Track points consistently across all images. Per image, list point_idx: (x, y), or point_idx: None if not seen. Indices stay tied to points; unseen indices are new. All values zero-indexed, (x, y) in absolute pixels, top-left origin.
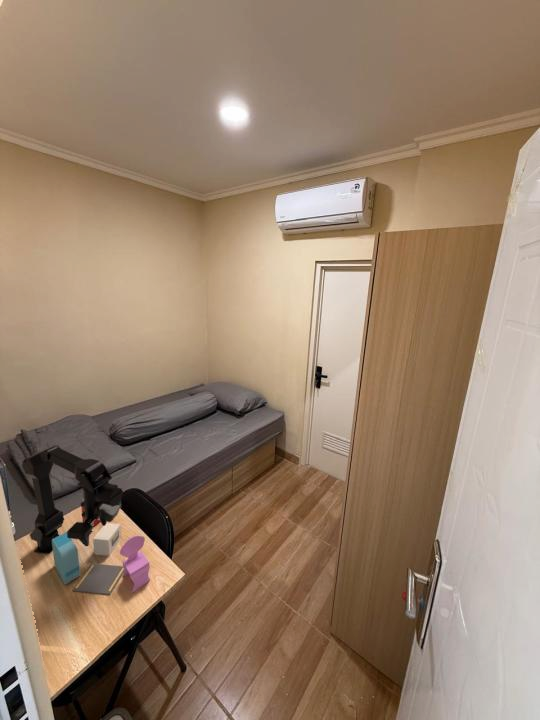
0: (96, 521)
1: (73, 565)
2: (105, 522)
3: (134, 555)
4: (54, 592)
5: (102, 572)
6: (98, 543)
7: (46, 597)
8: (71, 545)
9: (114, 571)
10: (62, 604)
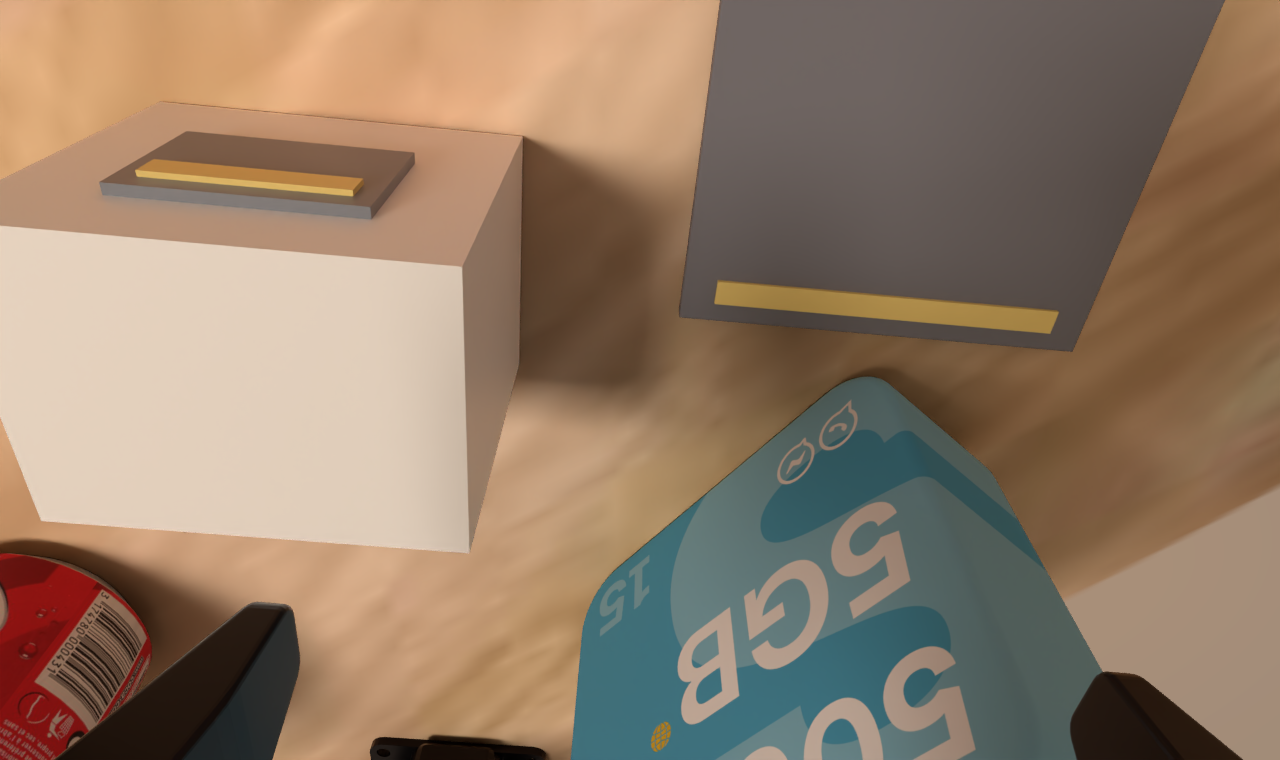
0: (38, 606)
1: (997, 558)
2: (223, 706)
3: None
4: (1025, 507)
5: (852, 87)
6: (485, 413)
7: (1068, 543)
8: None
9: None
10: (1222, 358)
